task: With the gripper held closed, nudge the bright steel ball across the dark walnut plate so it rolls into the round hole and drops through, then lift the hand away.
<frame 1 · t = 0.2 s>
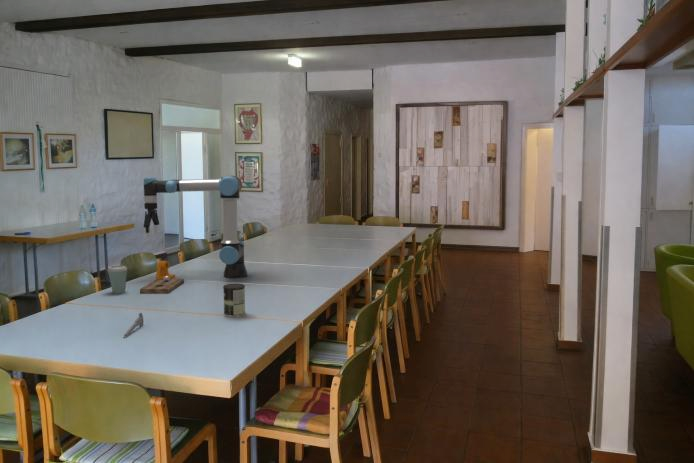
hand: (152, 236, 372), 27 cm above the table, tool pointing down, fingers open, 13 cm apart
bracket: (166, 280, 376), on the table
deck: (162, 287, 352), on the table
coffee can: (234, 314, 291), on the table
caliper: (133, 332, 262), on the table
disposable coffee cup: (118, 292, 340), on the table
ball: (166, 278, 358), point 4 cm above the table, touching deck
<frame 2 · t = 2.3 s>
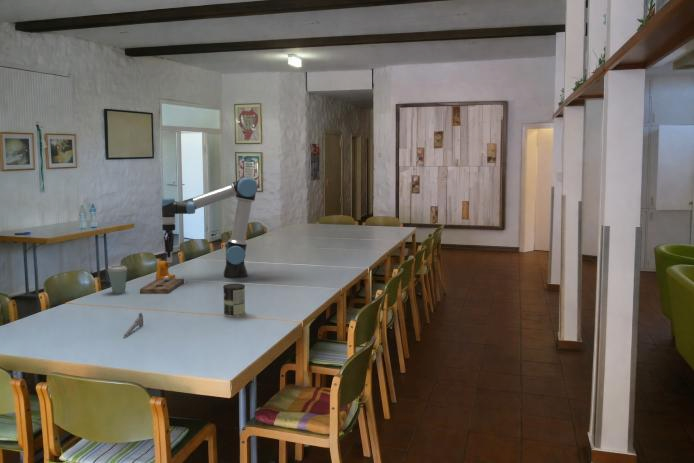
hand: (169, 262, 365), 13 cm above the table, tool pointing down, fingers closed
nothing on the table moved.
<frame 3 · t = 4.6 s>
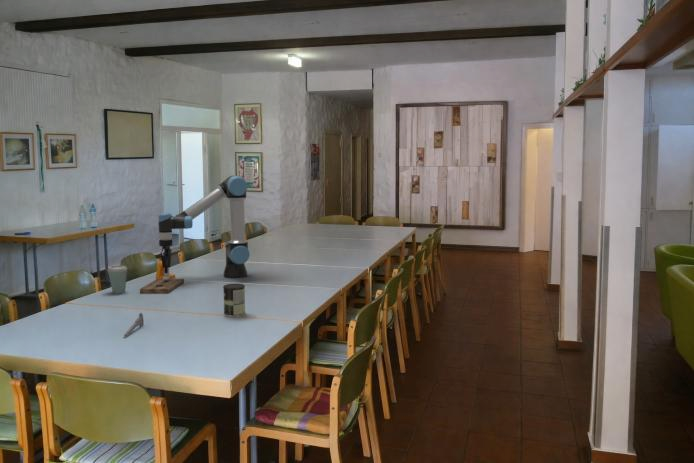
hand: (167, 278, 360), 4 cm above the table, tool pointing down, fingers closed
ball: (165, 278, 358), point 4 cm above the table, tilted 27°, touching deck
everything else where it was.
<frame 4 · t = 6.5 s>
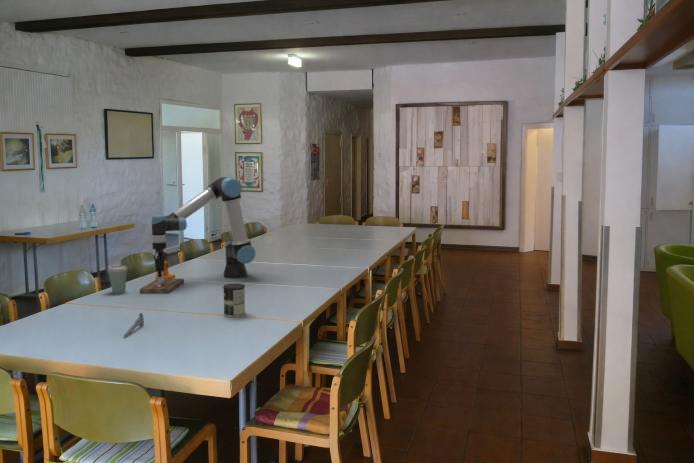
hand: (160, 282, 348), 4 cm above the table, tool pointing down, fingers closed
ball: (158, 287, 345), point 2 cm above the table, tilted 152°
everything else where it was.
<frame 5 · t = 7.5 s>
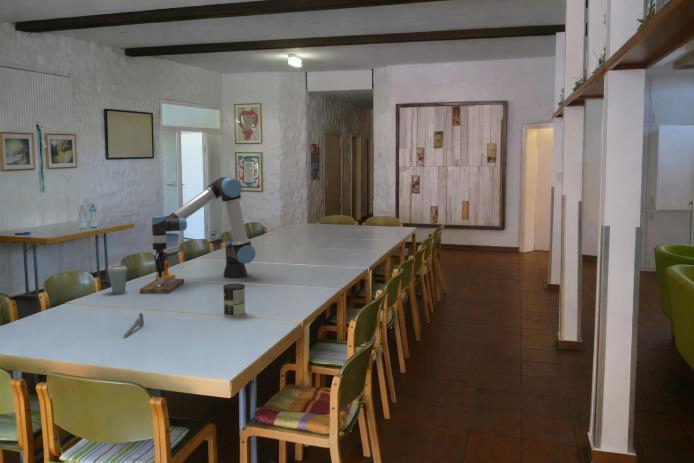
hand: (161, 282, 349), 4 cm above the table, tool pointing down, fingers closed
ball: (159, 287, 345), point 2 cm above the table, tilted 147°
everything else where it was.
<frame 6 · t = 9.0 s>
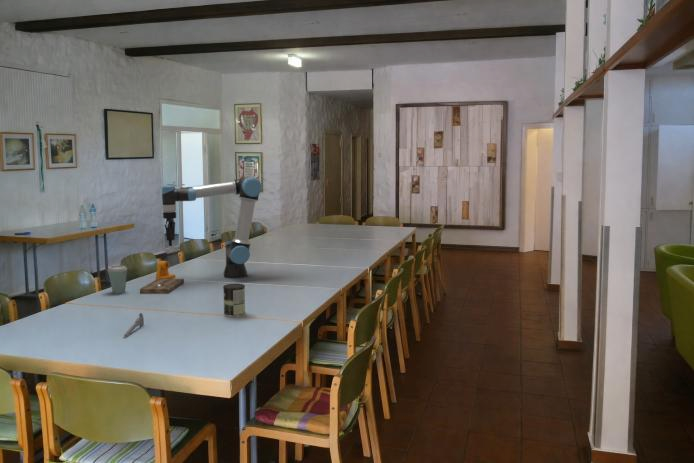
hand: (171, 250, 359), 20 cm above the table, tool pointing down, fingers closed
ball: (159, 287, 346), point 2 cm above the table, tilted 139°
everything else where it was.
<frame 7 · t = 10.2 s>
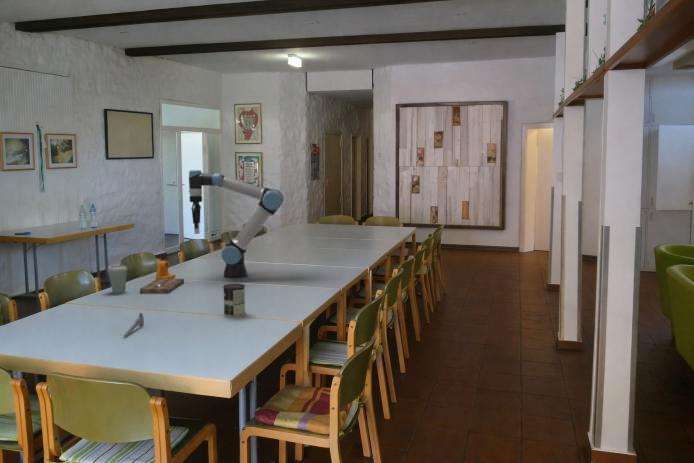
hand: (197, 233, 370), 29 cm above the table, tool pointing down, fingers closed
ball: (159, 287, 346), point 2 cm above the table, tilted 132°
everything else where it was.
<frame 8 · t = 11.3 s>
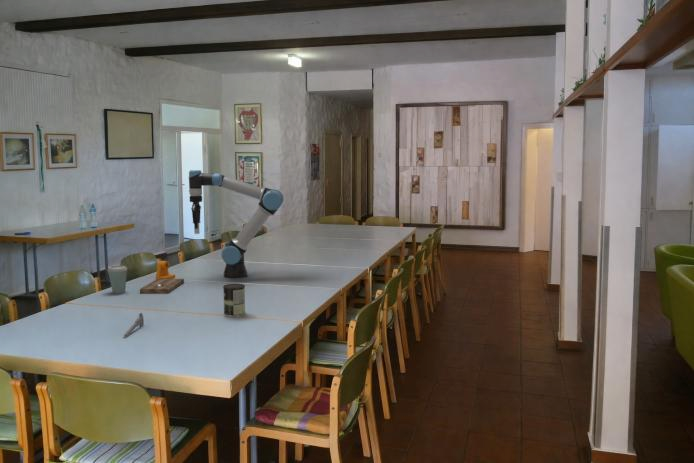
hand: (197, 233, 370), 29 cm above the table, tool pointing down, fingers closed
ball: (159, 287, 346), point 2 cm above the table, tilted 126°
everything else where it was.
at the end: ball 0.2 cm from the target spot on the deck, point 1.7 cm above the deck's base; ball point 1.7 cm above the table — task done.
